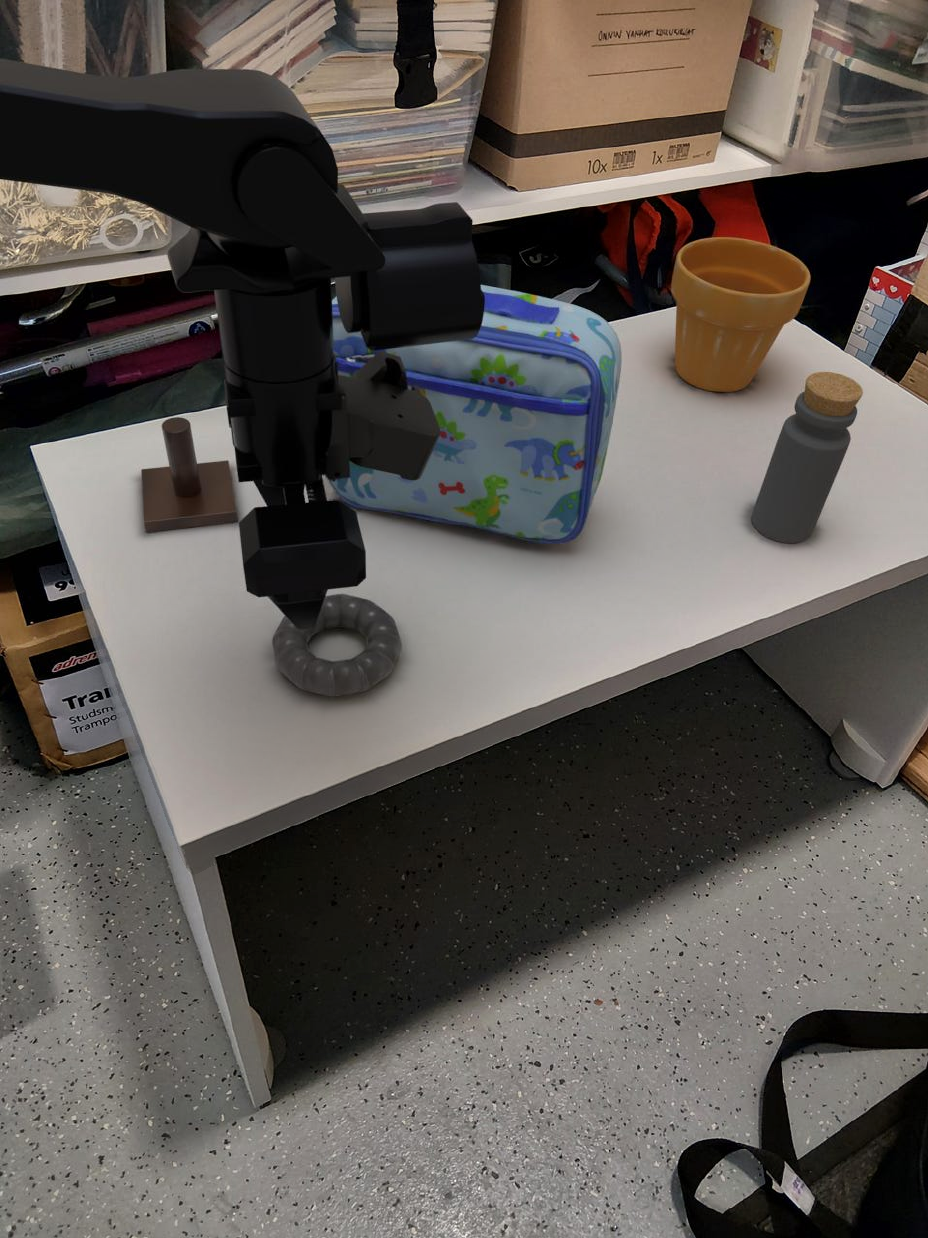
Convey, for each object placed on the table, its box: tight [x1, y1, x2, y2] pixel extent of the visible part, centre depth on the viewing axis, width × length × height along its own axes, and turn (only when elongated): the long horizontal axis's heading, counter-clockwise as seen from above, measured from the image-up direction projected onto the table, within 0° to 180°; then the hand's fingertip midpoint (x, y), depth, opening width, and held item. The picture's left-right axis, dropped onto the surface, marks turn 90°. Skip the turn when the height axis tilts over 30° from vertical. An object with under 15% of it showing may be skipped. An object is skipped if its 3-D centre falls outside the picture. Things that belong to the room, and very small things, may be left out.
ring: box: [271, 593, 403, 697], centre depth 73 cm, size 10×10×3 cm
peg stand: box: [140, 416, 239, 533], centre depth 84 cm, size 8×8×8 cm
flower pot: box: [670, 236, 811, 393], centre depth 104 cm, size 14×14×13 cm
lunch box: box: [324, 284, 623, 545], centre depth 81 cm, size 26×11×21 cm, turn 72°
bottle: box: [751, 371, 864, 544], centre depth 84 cm, size 6×6×15 cm
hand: (297, 576), depth 60 cm, fingers open, 9 cm apart
